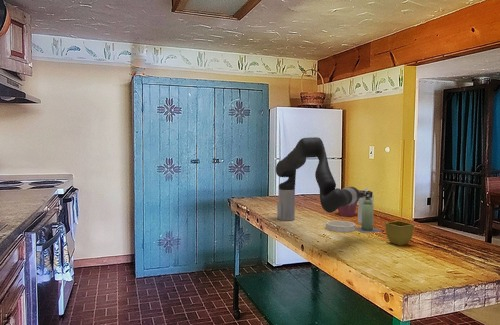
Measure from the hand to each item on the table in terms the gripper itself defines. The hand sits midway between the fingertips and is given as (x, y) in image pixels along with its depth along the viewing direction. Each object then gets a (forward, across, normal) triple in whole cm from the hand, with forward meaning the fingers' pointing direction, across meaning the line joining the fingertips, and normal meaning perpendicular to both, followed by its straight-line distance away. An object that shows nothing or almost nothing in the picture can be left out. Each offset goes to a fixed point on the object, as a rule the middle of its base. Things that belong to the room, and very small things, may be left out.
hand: (360, 192), depth 179 cm
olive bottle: (+11, 0, +20) cm, 23 cm away
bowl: (+5, +12, +20) cm, 24 cm away
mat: (+11, 0, +20) cm, 23 cm away
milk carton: (+28, +7, +21) cm, 36 cm away
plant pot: (+43, +23, +20) cm, 53 cm away
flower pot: (-5, -19, +21) cm, 29 cm away
